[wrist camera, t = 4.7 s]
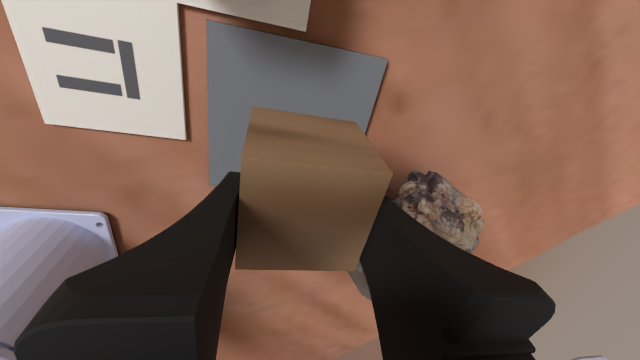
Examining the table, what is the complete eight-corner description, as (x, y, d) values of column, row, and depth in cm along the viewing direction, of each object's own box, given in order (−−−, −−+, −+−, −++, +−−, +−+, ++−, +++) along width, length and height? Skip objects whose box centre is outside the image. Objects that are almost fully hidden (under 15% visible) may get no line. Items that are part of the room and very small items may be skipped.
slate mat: (344, 193, 23) (345, 196, 23) (210, 182, 21) (209, 184, 20) (385, 58, 17) (388, 59, 17) (208, 19, 15) (206, 20, 15)
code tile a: (186, 138, 18) (185, 140, 18) (48, 121, 17) (44, 123, 16) (178, 2, 14) (176, 2, 14) (-8, -40, 12) (-14, -41, 12)
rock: (414, 215, 30) (518, 225, 21) (366, 312, 26) (472, 372, 17) (367, 161, 26) (469, 147, 18) (302, 263, 22) (396, 308, 14)
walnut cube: (332, 202, 16) (354, 271, 12) (246, 195, 15) (234, 269, 10) (355, 121, 13) (393, 172, 9) (252, 106, 12) (241, 156, 8)
